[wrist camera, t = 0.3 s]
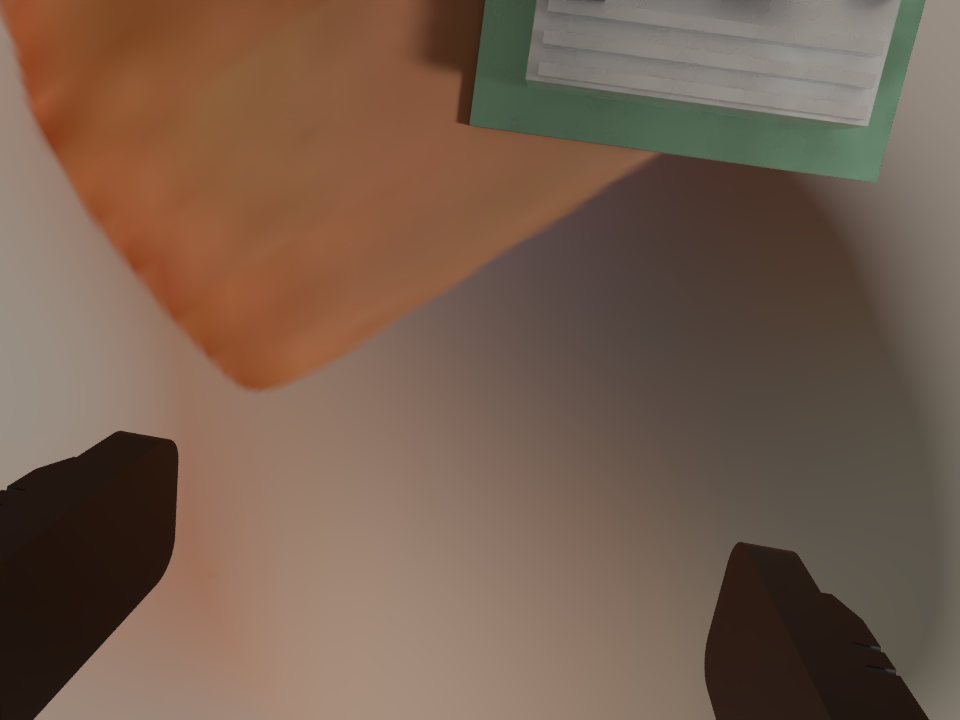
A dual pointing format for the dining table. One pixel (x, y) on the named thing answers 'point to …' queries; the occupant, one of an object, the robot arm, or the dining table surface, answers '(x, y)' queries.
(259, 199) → the dining table surface
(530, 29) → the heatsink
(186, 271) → the dining table surface
